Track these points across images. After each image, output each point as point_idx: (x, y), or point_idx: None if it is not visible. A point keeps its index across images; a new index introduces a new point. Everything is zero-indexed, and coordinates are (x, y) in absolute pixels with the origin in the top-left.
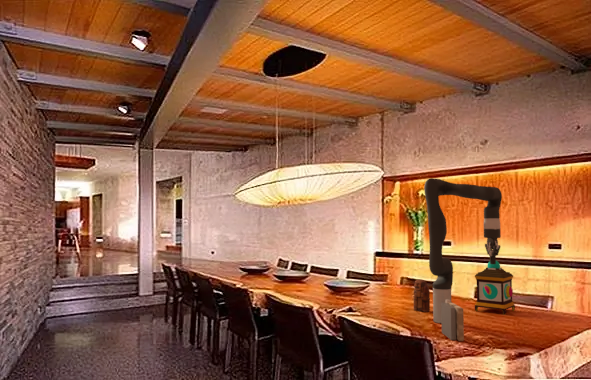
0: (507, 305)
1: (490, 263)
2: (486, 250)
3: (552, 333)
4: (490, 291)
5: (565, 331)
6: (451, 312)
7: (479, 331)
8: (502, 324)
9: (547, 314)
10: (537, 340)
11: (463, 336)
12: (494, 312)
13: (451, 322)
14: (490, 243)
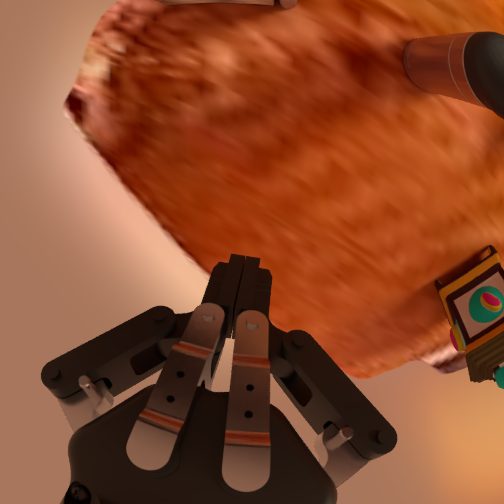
0: (445, 306)
1: (249, 257)
2: (343, 374)
3: None
4: (482, 301)
5: None
6: None
7: (284, 92)
8: (356, 212)
9: (395, 346)
10: (174, 191)
11: (163, 2)
12: None
13: None
14: (130, 441)
